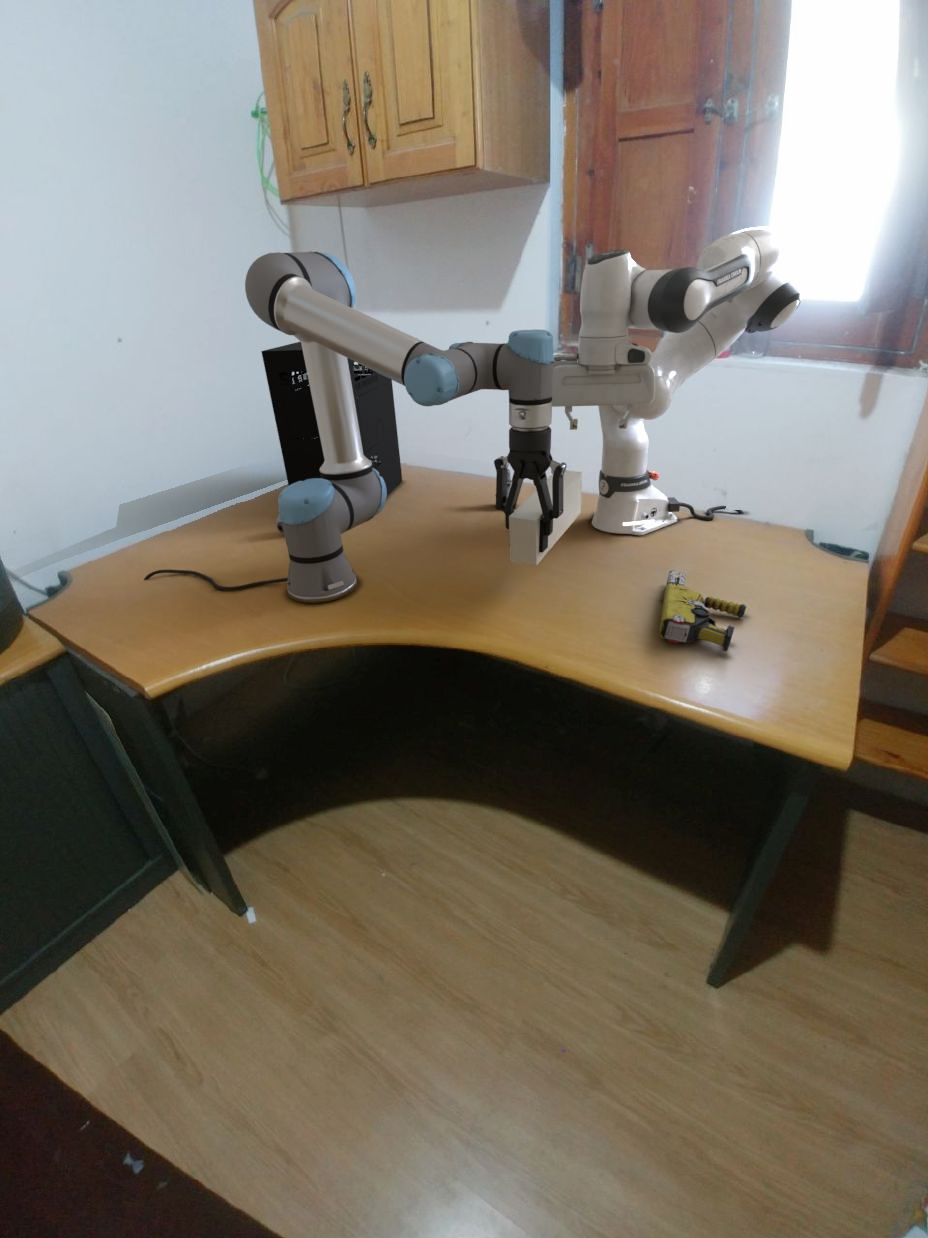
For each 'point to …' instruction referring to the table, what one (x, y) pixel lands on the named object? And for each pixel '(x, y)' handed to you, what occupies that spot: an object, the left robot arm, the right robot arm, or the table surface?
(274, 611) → the table surface
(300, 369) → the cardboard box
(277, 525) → the eyeball
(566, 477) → the bar
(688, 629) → the toy gun
